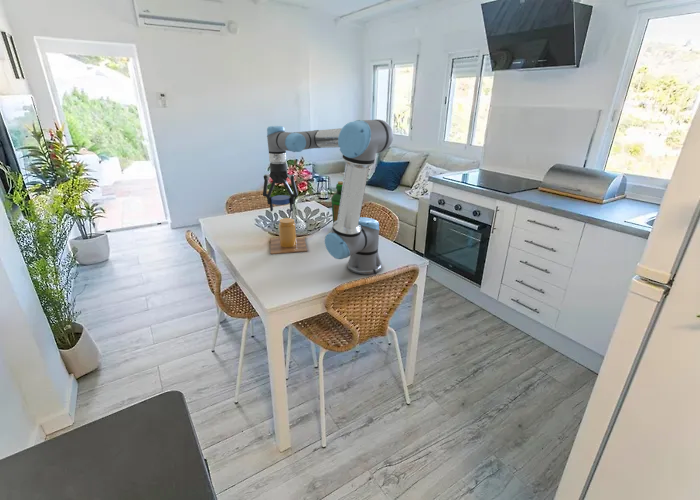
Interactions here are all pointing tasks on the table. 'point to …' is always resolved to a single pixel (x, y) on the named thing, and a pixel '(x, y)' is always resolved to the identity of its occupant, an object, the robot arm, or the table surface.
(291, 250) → the mat
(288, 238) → the jar
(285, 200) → the lid
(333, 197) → the bottle
